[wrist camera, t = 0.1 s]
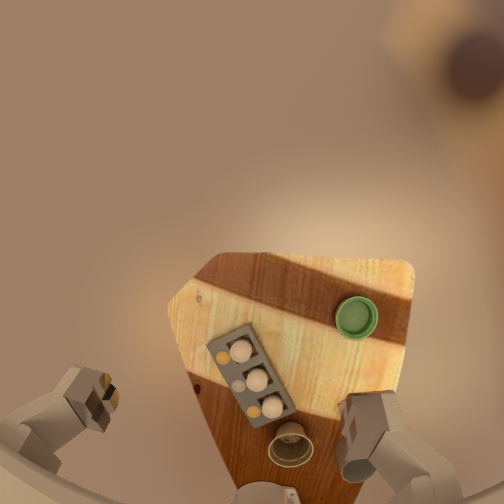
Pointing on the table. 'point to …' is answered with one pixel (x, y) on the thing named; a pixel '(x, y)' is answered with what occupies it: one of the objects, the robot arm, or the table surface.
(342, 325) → the ramekin
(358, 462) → the cup
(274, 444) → the flower pot
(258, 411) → the board
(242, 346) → the button
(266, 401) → the button
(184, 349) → the table surface
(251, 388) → the button
